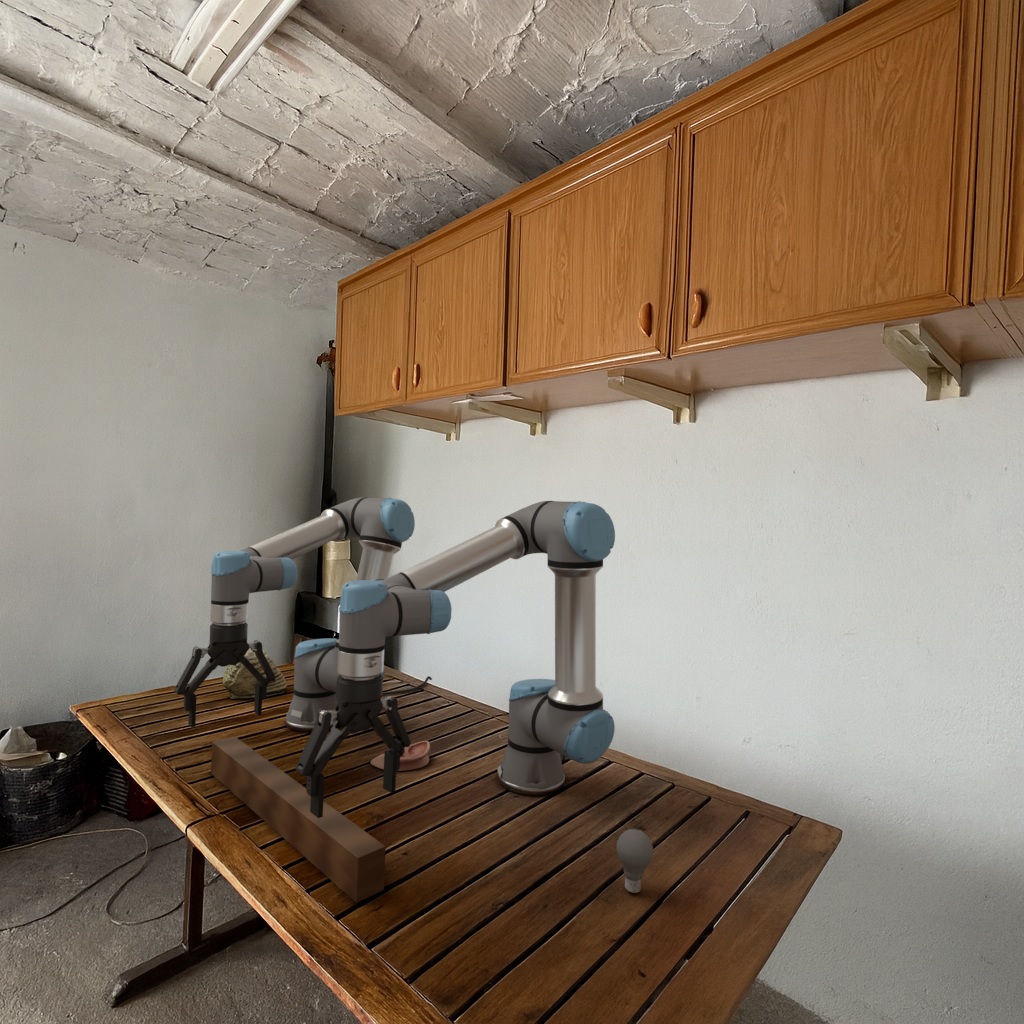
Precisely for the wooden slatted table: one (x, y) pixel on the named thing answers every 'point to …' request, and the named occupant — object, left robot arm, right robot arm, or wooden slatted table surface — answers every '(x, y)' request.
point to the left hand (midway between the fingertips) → (225, 719)
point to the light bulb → (634, 857)
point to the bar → (302, 819)
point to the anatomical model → (408, 757)
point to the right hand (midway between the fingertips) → (354, 801)
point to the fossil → (251, 678)
